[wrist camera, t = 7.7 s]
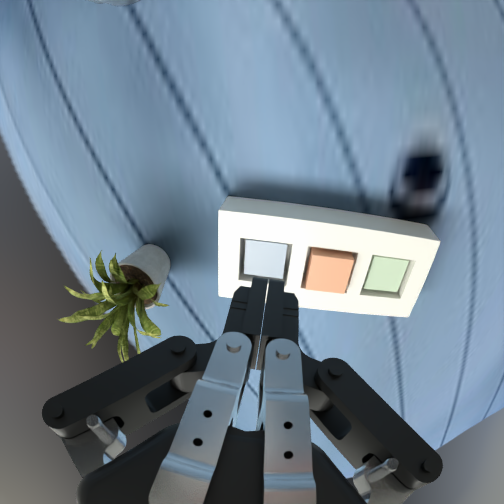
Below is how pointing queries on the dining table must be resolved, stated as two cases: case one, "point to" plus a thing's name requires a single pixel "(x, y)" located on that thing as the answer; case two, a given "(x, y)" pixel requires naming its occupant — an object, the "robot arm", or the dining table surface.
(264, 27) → the dining table surface
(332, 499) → the robot arm
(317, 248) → the key terracotta
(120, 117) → the dining table surface
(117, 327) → the house plant
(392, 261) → the key sage
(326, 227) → the keypad frame
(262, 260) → the key slate
